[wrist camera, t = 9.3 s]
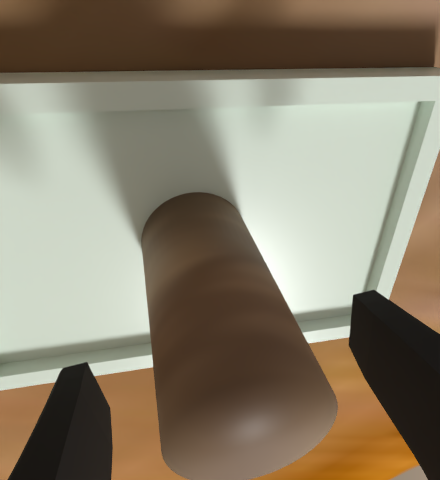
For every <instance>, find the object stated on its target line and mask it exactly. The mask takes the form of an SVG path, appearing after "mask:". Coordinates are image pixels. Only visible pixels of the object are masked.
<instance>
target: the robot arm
mask: <svg viewBox="0 0 440 480" xmlns="http://www.w3.org/2000/svg"><path fill="white" fill-rule="evenodd" d="M349 347H350V349H351V351H352V353H353V355H354V357H355V359H356V361H357V363H358V365H359V367H360V369H361V371H362V373H363V375H364V377H365V379H366V381H367V383H368V384H369V386H370V387H371V389H372V390H373V392H374V394H375V395H376V397H377V398H378V400H379V401H380V403H381V405H382V406H383V408H384V409H385V411H386V412H387V414H388V416H389V417H390V419H391V420H392V422H393V423H394V425H395V426H396V428H397V429H398V431H399V433H400V434H401V436H402V437H403V439H404V440H405V442H406V443H407V445H408V447H409V448H410V450H411V451H412V453H413V454H414V456H415V458H416V459H417V461H418V463H419V464H420V466H421V467H422V469H423V471H424V473H425V475H426V477H427V478H428V480H440V334H439V333H437V332H435V331H434V330H432V329H431V328H429V327H428V326H426V325H425V324H423V323H422V322H420V321H419V320H418V319H416V318H415V317H413V316H412V315H410V314H409V313H407V312H406V311H404V310H403V309H402V308H400V307H399V306H397V305H396V304H394V303H393V302H391V301H390V300H388V299H387V298H386V297H384V296H383V295H381V294H380V293H378V292H377V291H375V290H370V291H366V292H362V293H358V294H354V295H353V300H352V312H351V324H350V336H349ZM111 470H112V428H111V414H110V407H109V405H108V403H107V401H106V399H105V397H104V395H103V393H102V391H101V389H100V387H99V385H98V383H97V381H96V379H95V377H94V375H93V373H92V371H91V369H90V367H89V365H88V363H87V362H84V363H80V364H77V365H73V366H69V367H65V368H63V369H62V370H61V371H60V373H59V375H58V378H57V380H56V382H55V385H54V387H53V389H52V391H51V394H50V396H49V398H48V400H47V402H46V405H45V407H44V409H43V411H42V413H41V415H40V417H39V419H38V422H37V424H36V426H35V428H34V430H33V432H32V434H31V436H30V438H29V440H28V442H27V444H26V446H25V448H24V450H23V452H22V454H21V456H20V458H19V460H18V462H17V464H16V465H15V467H14V469H13V471H12V473H11V475H10V476H9V478H8V480H111Z"/></svg>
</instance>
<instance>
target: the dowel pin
mask: <svg viewBox="0 0 440 480" xmlns="http://www.w3.org/2000/svg"><path fill="white" fill-rule="evenodd" d="M141 243H142V255H143V265H144V275H145V286H146V296H147V306H148V317H149V327H150V338H151V348H152V358H153V369H154V379H155V389H156V400H157V410H158V420H159V431H160V441H161V451H162V456H163V459H164V461H165V463H166V464H167V466H168V467H169V468H170V469H171V470H172V471H174V472H175V473H176V474H178V475H180V476H182V477H184V478H187V479H190V480H248V479H252V478H256V477H260V476H263V475H266V474H269V473H271V472H274V471H276V470H279V469H281V468H283V467H285V466H287V465H289V464H291V463H293V462H294V461H296V460H298V459H299V458H301V457H302V456H304V455H305V454H307V453H308V452H309V451H310V450H312V449H313V448H314V447H315V446H316V445H317V444H318V443H320V441H321V440H322V439H323V438H324V437H325V436H326V435H327V433H328V432H329V430H330V429H331V427H332V425H333V423H334V421H335V418H336V416H337V410H338V405H337V399H336V396H335V394H334V392H333V390H332V388H331V386H330V384H329V382H328V380H327V379H326V377H325V375H324V373H323V371H322V369H321V367H320V365H319V363H318V361H317V360H316V358H315V356H314V354H313V352H312V350H311V348H310V346H309V344H308V342H307V340H306V339H305V337H304V335H303V333H302V331H301V329H300V327H299V325H298V323H297V321H296V320H295V318H294V316H293V314H292V312H291V310H290V308H289V306H288V304H287V302H286V301H285V299H284V297H283V295H282V293H281V291H280V289H279V287H278V285H277V283H276V281H275V280H274V278H273V276H272V274H271V272H270V270H269V268H268V266H267V264H266V262H265V261H264V259H263V257H262V255H261V253H260V251H259V249H258V247H257V245H256V243H255V242H254V240H253V238H252V236H251V234H250V232H249V230H248V228H247V226H246V224H245V222H244V221H243V219H242V217H241V215H240V213H239V211H238V210H237V209H236V208H235V207H234V206H233V205H232V204H231V203H230V202H229V201H227V200H226V199H224V198H222V197H220V196H217V195H214V194H210V193H204V192H192V193H185V194H182V195H178V196H176V197H173V198H171V199H169V200H167V201H166V202H164V203H163V204H161V205H160V206H159V207H158V208H156V209H155V210H154V211H153V213H152V214H151V215H150V216H149V218H148V220H147V221H146V223H145V226H144V228H143V232H142V238H141Z"/></svg>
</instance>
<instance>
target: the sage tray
mask: <svg viewBox="0 0 440 480" xmlns="http://www.w3.org/2000/svg"><path fill="white" fill-rule="evenodd" d="M439 149H440V68H437V67H400V68H325V69H250V70H175V71H100V72H26V73H0V390H6V389H13V388H19V387H26V386H32V385H39V384H46V383H52V382H56V380H57V378H58V375H59V373H60V371H61V370H62V369H63V368H65V367H69V366H73V365H77V364H80V363H84V362H87V363H88V365H89V367H90V369H91V371H92V373H93V375H94V376H98V375H104V374H111V373H118V372H124V371H131V370H137V369H144V368H150V367H153V358H152V348H151V338H150V327H149V317H148V306H147V296H146V286H145V275H144V265H143V255H142V243H141V238H142V232H143V228H144V226H145V223H146V221H147V220H148V218H149V216H150V215H151V214H152V213H153V211H154V210H155V209H156V208H158V207H159V206H160V205H161V204H163V203H164V202H166V201H167V200H169V199H171V198H173V197H176V196H178V195H182V194H185V193H192V192H204V193H210V194H214V195H217V196H220V197H222V198H224V199H226V200H227V201H229V202H230V203H231V204H232V205H233V206H234V207H235V208H236V209H237V210H238V211H239V213H240V215H241V217H242V219H243V221H244V222H245V224H246V226H247V228H248V230H249V232H250V234H251V236H252V238H253V240H254V242H255V243H256V245H257V247H258V249H259V251H260V253H261V255H262V257H263V259H264V261H265V262H266V264H267V266H268V268H269V270H270V272H271V274H272V276H273V278H274V280H275V281H276V283H277V285H278V287H279V289H280V291H281V293H282V295H283V297H284V299H285V301H286V302H287V304H288V306H289V308H290V310H291V312H292V314H293V316H294V318H295V320H296V321H297V323H298V325H299V327H300V329H301V331H302V333H303V335H304V337H305V339H306V340H307V342H308V343H314V342H321V341H327V340H334V339H340V338H347V337H349V336H350V324H351V312H352V300H353V295H354V294H358V293H362V292H366V291H370V290H375V291H377V292H378V293H380V294H381V295H383V296H384V297H386V298H387V299H388V300H389V297H390V294H391V291H392V288H393V285H394V282H395V279H396V276H397V273H398V270H399V267H400V264H401V261H402V258H403V256H404V253H405V250H406V247H407V244H408V241H409V238H410V235H411V232H412V229H413V226H414V223H415V220H416V217H417V214H418V211H419V208H420V205H421V202H422V199H423V196H424V193H425V191H426V188H427V185H428V182H429V179H430V176H431V173H432V170H433V167H434V164H435V161H436V158H437V155H438V152H439Z"/></svg>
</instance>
